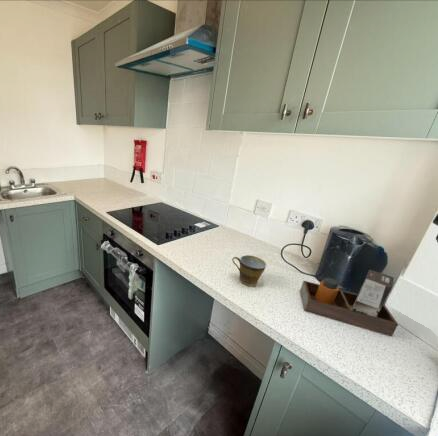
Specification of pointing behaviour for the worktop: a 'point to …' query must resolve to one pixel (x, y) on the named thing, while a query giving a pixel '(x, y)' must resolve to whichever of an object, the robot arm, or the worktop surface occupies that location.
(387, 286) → the coffee box
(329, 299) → the spice bottle
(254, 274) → the ceramic cup
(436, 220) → the robot arm
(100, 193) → the worktop surface
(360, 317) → the holder
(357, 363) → the worktop surface
